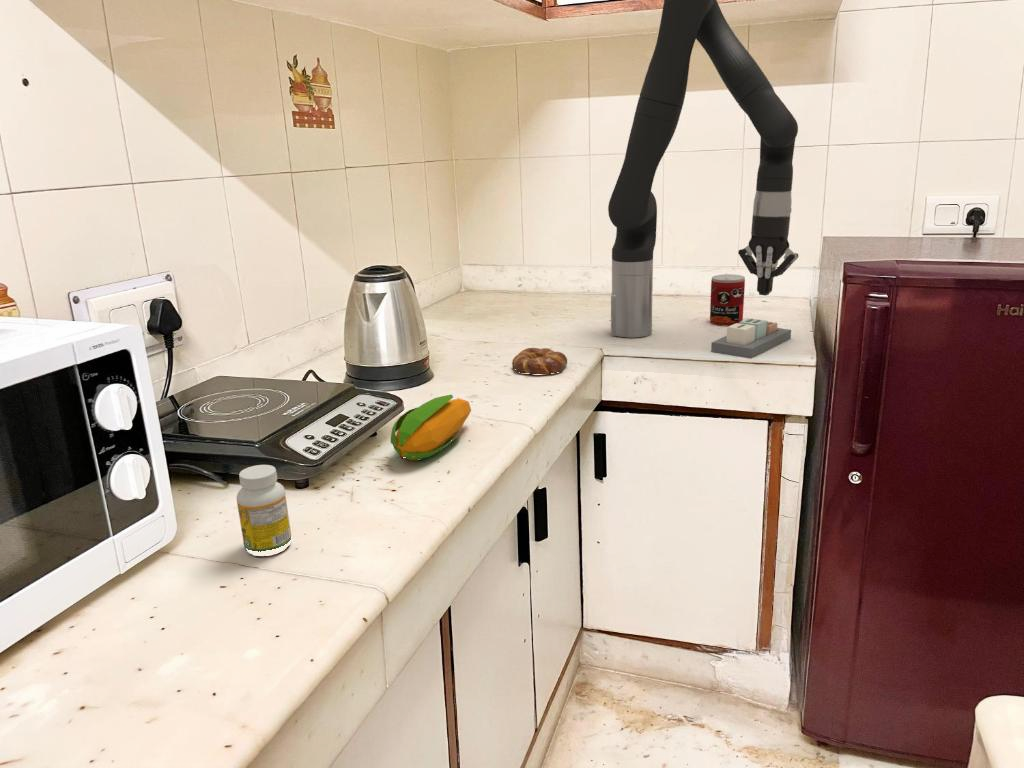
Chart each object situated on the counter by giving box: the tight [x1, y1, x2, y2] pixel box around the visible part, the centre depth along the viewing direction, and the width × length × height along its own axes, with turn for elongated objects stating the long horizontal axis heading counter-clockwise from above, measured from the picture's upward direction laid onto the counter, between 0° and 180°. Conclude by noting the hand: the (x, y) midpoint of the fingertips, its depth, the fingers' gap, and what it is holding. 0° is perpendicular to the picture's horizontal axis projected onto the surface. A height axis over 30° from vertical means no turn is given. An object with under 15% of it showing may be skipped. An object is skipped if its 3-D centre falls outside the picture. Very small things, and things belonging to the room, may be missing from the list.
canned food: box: [709, 273, 746, 326], centre depth 183 cm, size 8×8×11 cm
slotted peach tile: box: [766, 321, 778, 334], centre depth 168 cm, size 4×4×4 cm
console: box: [710, 327, 792, 359], centre depth 164 cm, size 9×19×2 cm, turn 138°
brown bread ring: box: [511, 347, 568, 374], centre depth 154 cm, size 12×11×4 cm
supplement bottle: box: [236, 464, 292, 552], centre depth 88 cm, size 5×5×10 cm
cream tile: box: [726, 323, 755, 345], centre depth 160 cm, size 4×4×4 cm
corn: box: [390, 394, 472, 461], centre depth 117 cm, size 7×8×20 cm
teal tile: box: [739, 317, 768, 340], centre depth 164 cm, size 4×4×4 cm
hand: (764, 294), depth 166 cm, fingers closed
